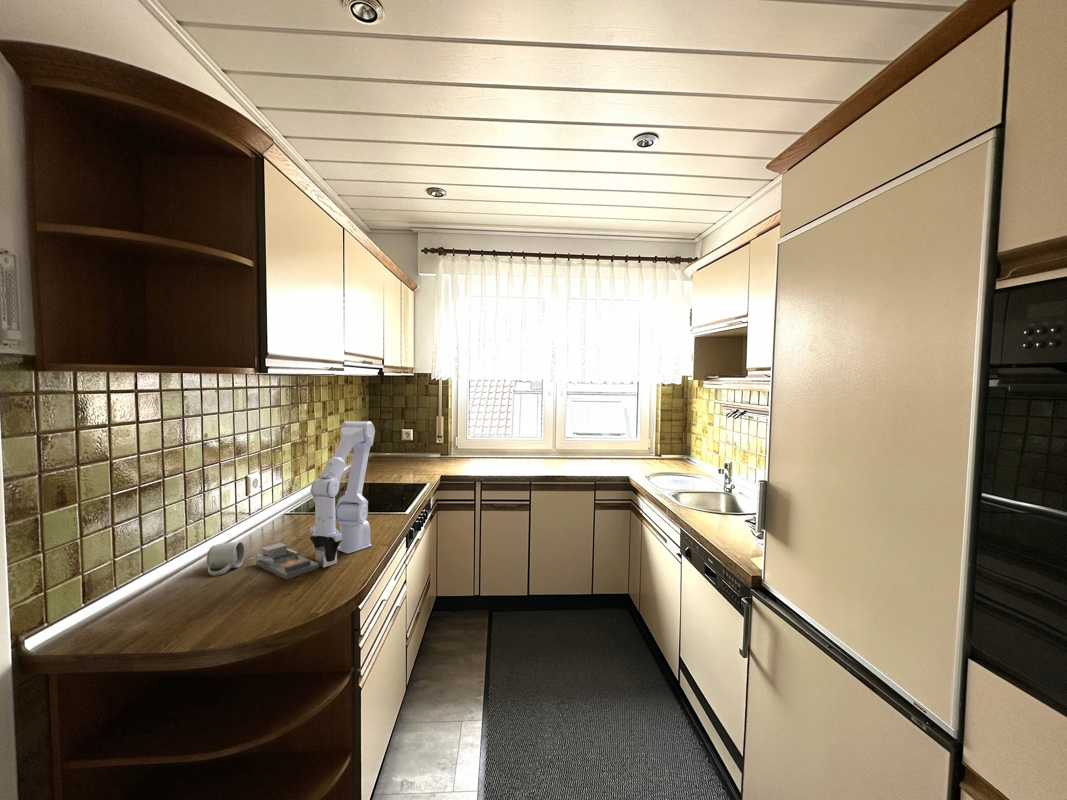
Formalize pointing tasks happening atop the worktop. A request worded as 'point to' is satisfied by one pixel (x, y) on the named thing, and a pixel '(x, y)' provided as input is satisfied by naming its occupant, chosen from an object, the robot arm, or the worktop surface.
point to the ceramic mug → (225, 557)
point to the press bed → (287, 564)
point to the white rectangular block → (323, 557)
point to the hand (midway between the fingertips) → (326, 559)
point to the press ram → (274, 550)
